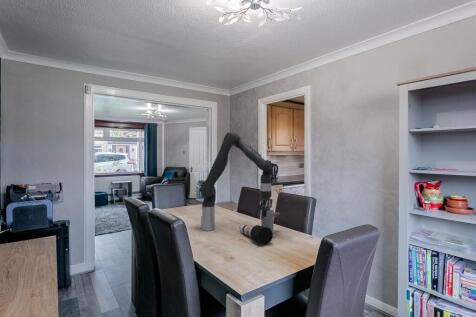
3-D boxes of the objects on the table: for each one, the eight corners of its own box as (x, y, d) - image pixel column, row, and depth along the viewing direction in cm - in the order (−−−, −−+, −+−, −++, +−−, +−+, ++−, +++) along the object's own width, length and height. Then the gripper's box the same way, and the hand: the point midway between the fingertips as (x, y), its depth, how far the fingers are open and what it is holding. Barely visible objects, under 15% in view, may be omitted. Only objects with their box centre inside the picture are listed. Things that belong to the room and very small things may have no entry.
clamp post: (261, 236, 174) (261, 209, 174) (264, 235, 177) (264, 208, 177) (270, 238, 170) (270, 211, 169) (273, 237, 173) (273, 210, 172)
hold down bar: (261, 218, 174) (261, 207, 174) (275, 214, 187) (275, 203, 187) (266, 219, 172) (266, 208, 171) (279, 214, 185) (279, 204, 185)
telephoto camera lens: (243, 237, 188) (248, 223, 190) (269, 246, 157) (274, 230, 160) (232, 232, 184) (237, 218, 187) (256, 241, 154) (261, 224, 156)
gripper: (266, 188, 182) (267, 212, 182) (255, 190, 171) (255, 216, 171) (276, 189, 177) (276, 214, 177) (264, 191, 166) (264, 218, 166)
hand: (265, 215), depth 174 cm, fingers closed on hold down bar, 4 cm apart
